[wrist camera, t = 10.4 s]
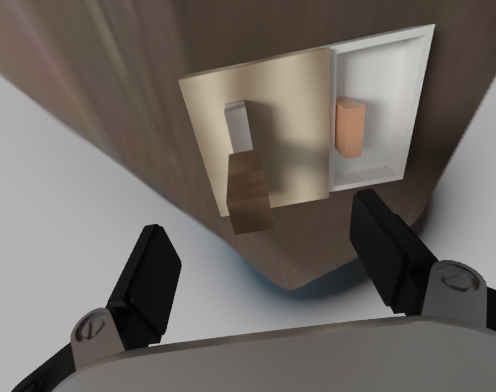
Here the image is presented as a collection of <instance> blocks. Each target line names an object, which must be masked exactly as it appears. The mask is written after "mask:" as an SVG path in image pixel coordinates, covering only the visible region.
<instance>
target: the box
mask: <svg viewBox="0 0 496 392" xmlns="http://www.w3.org/2000/svg"><path fill="white" fill-rule="evenodd" d="M434 27H435V24H431V25H422V26H413V27H407V28H403V29H398V30H393V31H389V32H384V33H379V34H375V35H370V36H366V37H361V38H356V39H352V40H347V41H342V42H338V43H333V44H328V45H324V46H319V47H318V48H330V97H329V192H333V191H339V190H344V189H350V188H355V187H361V186H367V185H372V184H378V183H383V182H389V181H395V180H400V179H403V175H404V171H405V166H406V161H407V156H408V151H409V147H410V142H411V137H412V132H413V127H414V123H415V118H416V113H417V108H418V103H419V99H420V94H421V89H422V84H423V80H424V75H425V70H426V65H427V60H428V56H429V51H430V46H431V41H432V36H433V32H434ZM342 96H345V97H347V98H349V99H352V100H354V101H356V102H358V103H360V104H363V105H365V106H366V109H365V120H364V131H363V142H362V153H361V156H358V157H353V158H347V159H345V158H344V157H343V156H342V155H341V154H340V153H339V152H338V151H337V150H336V149H335V108H336V98H337V97H342Z"/></svg>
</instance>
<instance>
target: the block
mask: <svg viewBox="0 0 496 392" xmlns="http://www.w3.org/2000/svg"><path fill="white" fill-rule="evenodd" d="M365 109H366V106H365V105H363V104H360V103H358V102H356V101H354V100H352V99H349V98H347V97H345V96H342V97H337V98H336V108H335V149H336V150H337V151H338V152H339V153H340V154H341V155H342V156H343V157H344V158H345V159H347V158H353V157H358V156H361V153H362V142H363V131H364V120H365Z"/></svg>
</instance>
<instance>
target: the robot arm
mask: <svg viewBox="0 0 496 392" xmlns="http://www.w3.org/2000/svg"><path fill="white" fill-rule="evenodd" d="M349 236H350V241H351V243H352V245H353V247H354V248H355V250H356V252H357V254H358V256H359V258H360V259H361V261H362V263H363V265H364V267H365V269H366V271H367V273H368V274H369V276H370V278H371V280H372V282H373V284H374V285H375V287H376V289H377V291H378V293H379V295H380V297H381V298H382V300H383V302H384V304H385V305H386V306H390V307H391V309H392V311H393V313H394V314H398V313H405V315H406V316H402V317H388V318H379V319H368V320H358V321H350V322H341V323H333V324H324V325H316V326H308V327H300V328H291V329H283V330H275V331H266V332H258V333H250V334H242V335H234V336H226V337H218V338H211V339H203V340H195V341H187V342H179V343H172V344H165V345H159V346H152V347H148V345H149V344H156V343H160V341H161V337H162V335H164V334H165V332H166V329H167V324H168V320H169V316H170V312H171V308H172V304H173V300H174V296H175V292H176V287H177V283H178V279H179V275H180V271H181V267H182V265H181V260H180V258H179V256H178V254H177V253H176V251H175V249H174V247H173V245H172V243H171V241H170V239H169V238H168V236H167V234H166V232H165V230H164V228H163V227H162V226H159V225H158V224H153V225H147V226H145V227H144V228H143V230H142V233H141V234H140V237H139V239H138V241H137V243H136V245H135V247H134V249H133V251H132V253H131V255H130V257H129V259H128V261H127V263H126V265H125V267H124V269H123V271H122V273H121V275H120V278H119V280H118V282H117V284H116V286H115V288H114V290H113V292H112V294H111V296H110V298H109V300H108V303H107V305H106V307H105V308H98V309H95V310H92V311H91V312H89V313H87V314H86V315H85V316H84V317H82V318H81V319H80V320H79V322H78V323H77V324H76V326H75V327H74V329H73V331H72V334H71V342H70V343H69V344H67V345H66V346H65V347H64V348H62V349H61V350H60V351H59V352H57V353H56V354H55V355H54V356H52V357H51V358H50V359H49V360H47V361H46V362H45V363H44V364H42V365H41V366H40V367H39V368H37V369H36V370H35V371H34V372H32V373H31V374H30V375H28V376H27V377H26V378H25V379H24V380H22V381H21V382H20V383H19V384H18V385H17V386H16V387H15V388H14V389H13V390H12V391H11V392H496V290H495V289H492V288H489V287H487V286H486V281H485V280H484V279H483V277H482V276H481V275H480V274H479V273H478V272H477V271H476V270H474V269H472V268H471V267H469V266H467V265H465V264H462V263H460V262H456V261H452V260H442V261H438V260H437V258H436V257H435V256H434V255H433V254H432V253H431V251H430V250H429V249H428V248H427V247H426V246H425V245H424V243H423V242H422V241H421V240H420V239H419V238H418V237H417V235H416V234H415V233H414V232H413V231H412V230H411V229H410V228H409V226H408V225H407V224H406V223H405V222H404V221H403V220H402V219H401V217H400V216H398V215H397V214H393V212H392V211H391V210H390V209H389V208H388V207H387V205H386V204H385V203H384V202H383V201H382V200H381V199H380V197H379V196H378V195H377V194H376V193H375V192H374V190H372V189H365V190H359V191H358V192H357V194H354V196H353V204H352V214H351V224H350V235H349Z"/></svg>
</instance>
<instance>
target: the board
mask: <svg viewBox="0 0 496 392" xmlns="http://www.w3.org/2000/svg"><path fill="white" fill-rule="evenodd" d="M178 81H179V84H180V88H181V91H182V94H183V97H184V100H185V103H186V107H187V110H188V113H189V116H190V119H191V122H192V126H193V129H194V132H195V135H196V138H197V142H198V145H199V148H200V151H201V154H202V157H203V161H204V164H205V167H206V170H207V173H208V176H209V180H210V183H211V186H212V189H213V192H214V196H215V199H216V202H217V205H218V208H219V211H220V215H221V217H222V216H228V215H229V212H228V208H227V205H226V197H227V178H228V160H229V154H233V149H232V144H231V140H230V136H229V131H228V127H227V123H226V118H225V114H224V109H225V103H230V102H235V101H240V100H244V102H245V108H246V113H247V119H248V124H249V130H250V135H251V141H252V146H253V150H254V149H258V151H259V156H260V160H261V164H262V169H263V173H264V177H265V182H266V186H267V191H268V195H269V201H270V207H271V208H273V207H279V206H285V205H290V204H296V203H301V202H307V201H313V200H318V199H324V198H329V97H330V48H318V47H315V48H310V49H305V50H301V51H296V52H291V53H287V54H282V55H277V56H273V57H268V58H263V59H259V60H254V61H250V62H245V63H240V64H236V65H231V66H226V67H222V68H217V69H212V70H208V71H203V72H199V73H194V74H189V75H186V76H184V77H183V78H181V79H179V80H178Z"/></svg>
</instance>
